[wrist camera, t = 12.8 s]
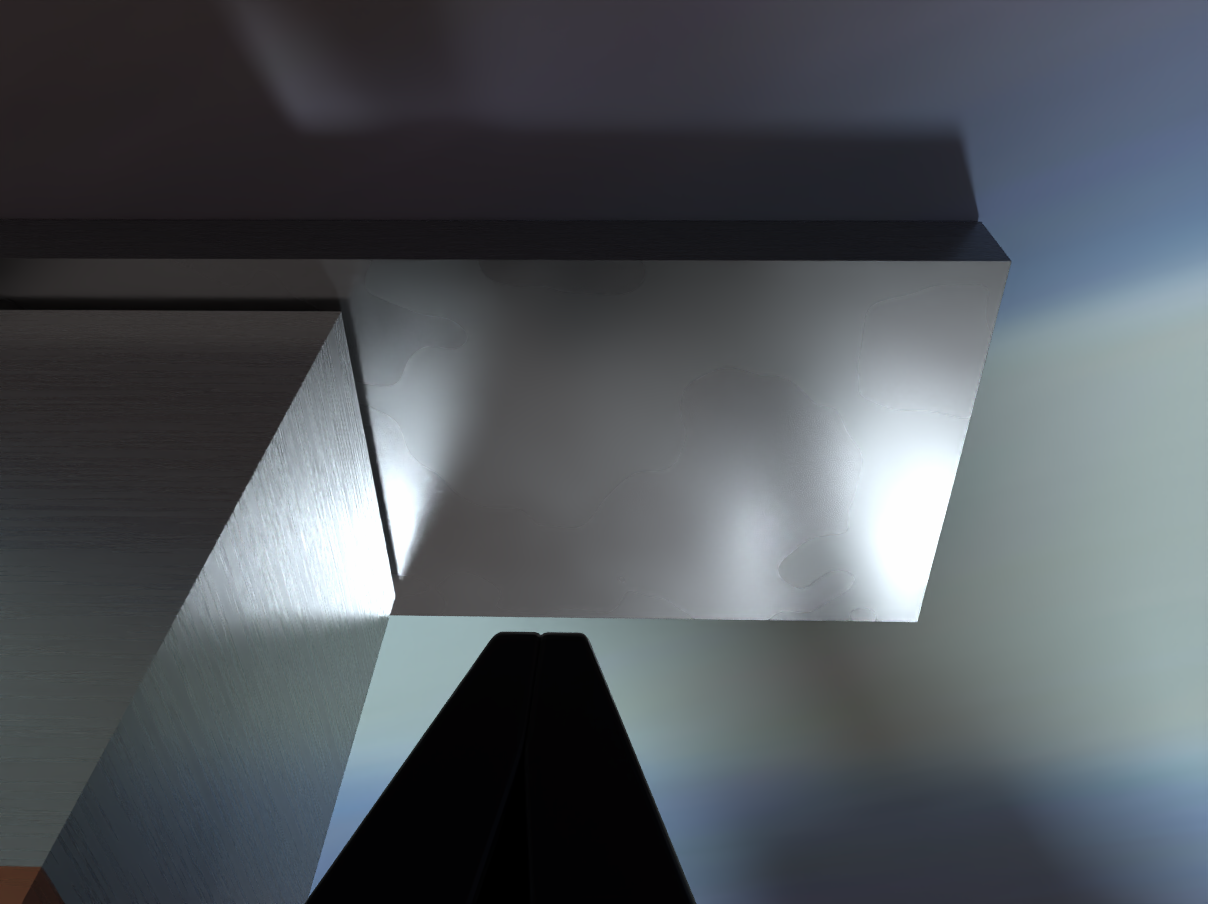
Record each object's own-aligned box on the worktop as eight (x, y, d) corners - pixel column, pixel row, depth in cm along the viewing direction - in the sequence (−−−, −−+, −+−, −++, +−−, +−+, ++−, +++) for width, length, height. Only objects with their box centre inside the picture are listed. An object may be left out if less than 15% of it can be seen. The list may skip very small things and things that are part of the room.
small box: (394, 595, 12) (201, 1266, 7) (83, 591, 12) (-357, 1248, 7) (340, 311, 10) (-27, 991, 4) (-46, 309, 10) (-877, 973, 4)
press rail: (899, 568, 13) (987, 835, 10) (39, 559, 13) (-152, 813, 10) (980, 220, 10) (1145, 436, 7) (-123, 219, 10) (-466, 424, 7)
